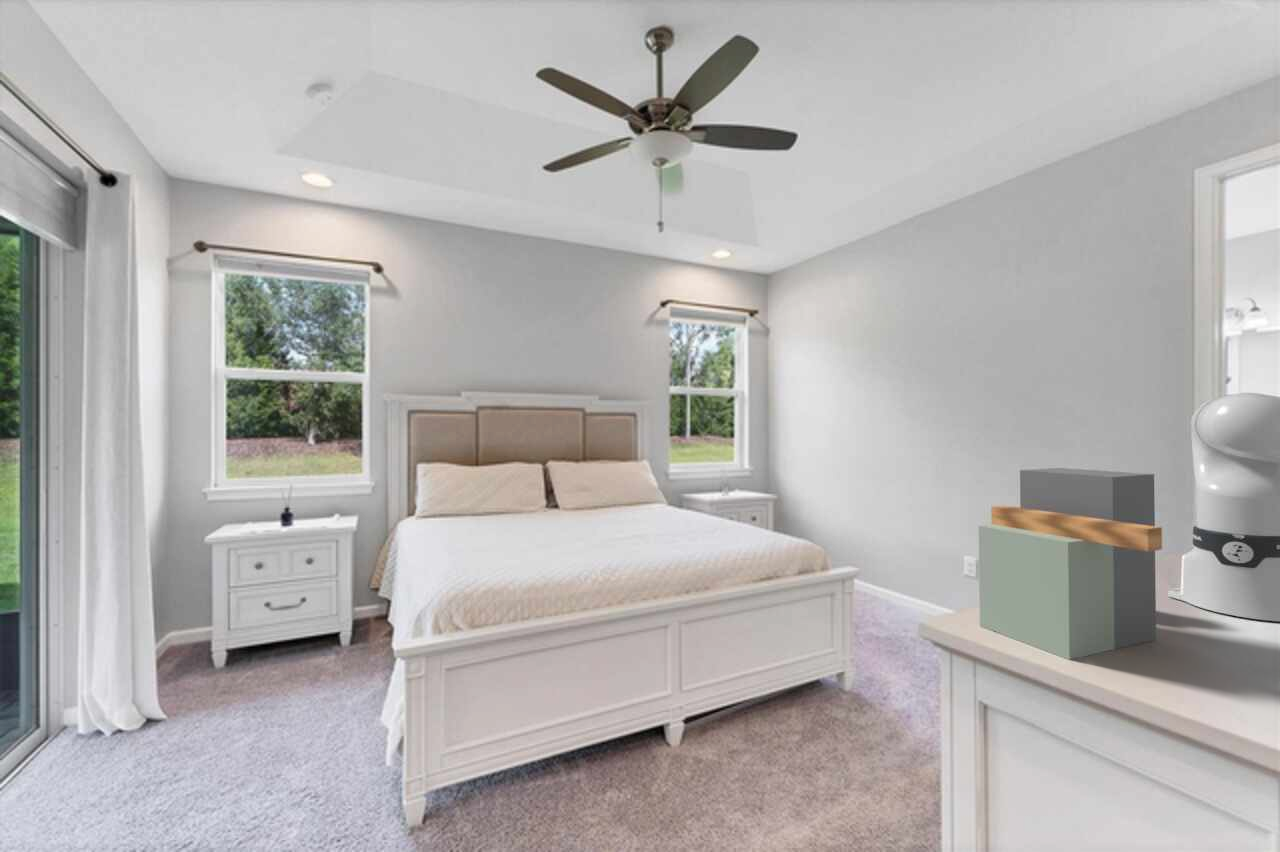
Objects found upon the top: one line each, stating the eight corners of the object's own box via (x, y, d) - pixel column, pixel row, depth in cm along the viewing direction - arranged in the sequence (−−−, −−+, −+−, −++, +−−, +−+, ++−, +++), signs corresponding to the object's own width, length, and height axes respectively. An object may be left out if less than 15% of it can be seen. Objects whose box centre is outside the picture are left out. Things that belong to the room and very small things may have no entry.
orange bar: (1162, 549, 73) (1161, 527, 73) (1148, 551, 72) (1147, 529, 72) (1003, 522, 94) (1003, 505, 94) (991, 523, 93) (991, 506, 93)
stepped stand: (1156, 639, 85) (1154, 474, 85) (1069, 659, 78) (1067, 480, 78) (1060, 611, 98) (1059, 467, 98) (979, 626, 91) (977, 472, 91)
